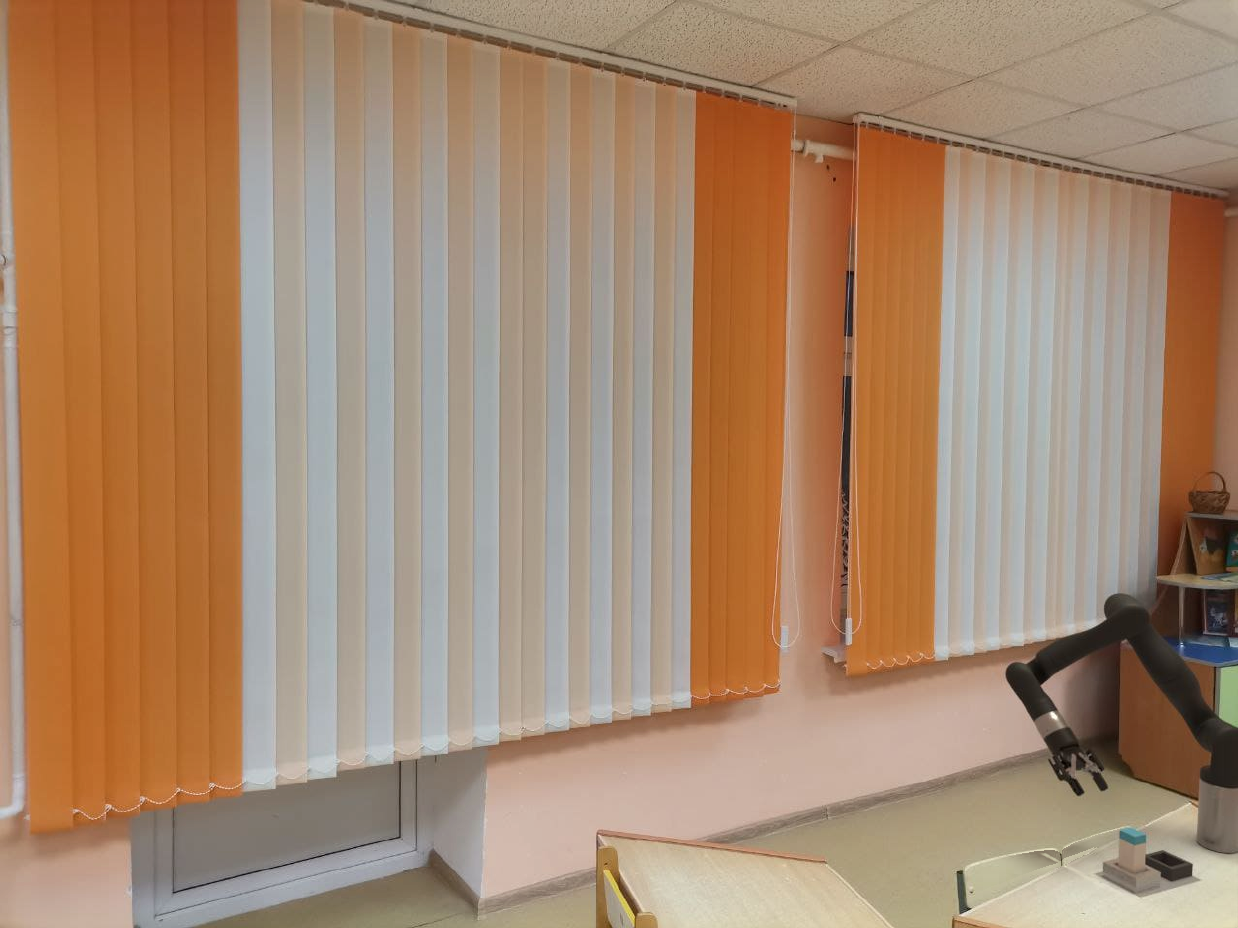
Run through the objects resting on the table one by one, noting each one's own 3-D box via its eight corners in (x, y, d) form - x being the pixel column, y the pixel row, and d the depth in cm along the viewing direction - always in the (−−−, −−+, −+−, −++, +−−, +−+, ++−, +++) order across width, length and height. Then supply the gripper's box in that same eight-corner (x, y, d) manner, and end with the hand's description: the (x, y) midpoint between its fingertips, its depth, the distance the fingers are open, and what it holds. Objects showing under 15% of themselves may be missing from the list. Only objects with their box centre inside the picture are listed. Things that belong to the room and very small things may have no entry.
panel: (1154, 861, 225) (1154, 857, 225) (1201, 883, 214) (1201, 879, 214) (1094, 877, 216) (1094, 873, 216) (1140, 901, 205) (1140, 897, 205)
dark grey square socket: (1162, 861, 223) (1162, 849, 223) (1192, 875, 216) (1192, 863, 216) (1141, 866, 220) (1142, 855, 220) (1171, 881, 213) (1172, 869, 213)
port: (1126, 869, 219) (1127, 855, 218) (1160, 886, 211) (1160, 871, 211) (1102, 875, 215) (1103, 861, 215) (1135, 893, 207) (1136, 878, 207)
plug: (1128, 875, 216) (1130, 827, 215) (1144, 883, 212) (1146, 834, 211) (1117, 878, 214) (1119, 829, 214) (1132, 886, 210) (1135, 836, 210)
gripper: (1045, 729, 227) (1083, 790, 217) (1084, 722, 233) (1122, 781, 223) (1027, 742, 232) (1063, 802, 222) (1066, 736, 238) (1102, 794, 228)
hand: (1093, 792), depth 222 cm, fingers open, 8 cm apart
